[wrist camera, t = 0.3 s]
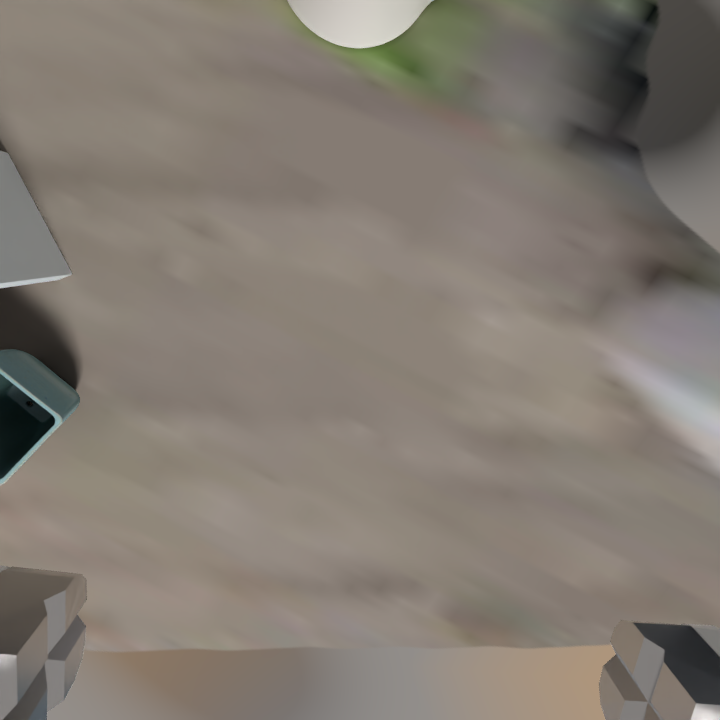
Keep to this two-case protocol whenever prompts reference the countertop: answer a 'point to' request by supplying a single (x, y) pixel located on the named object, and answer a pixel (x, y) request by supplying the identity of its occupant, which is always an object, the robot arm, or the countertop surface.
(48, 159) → the countertop surface
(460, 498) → the countertop surface
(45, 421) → the flower pot
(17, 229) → the tunnel
